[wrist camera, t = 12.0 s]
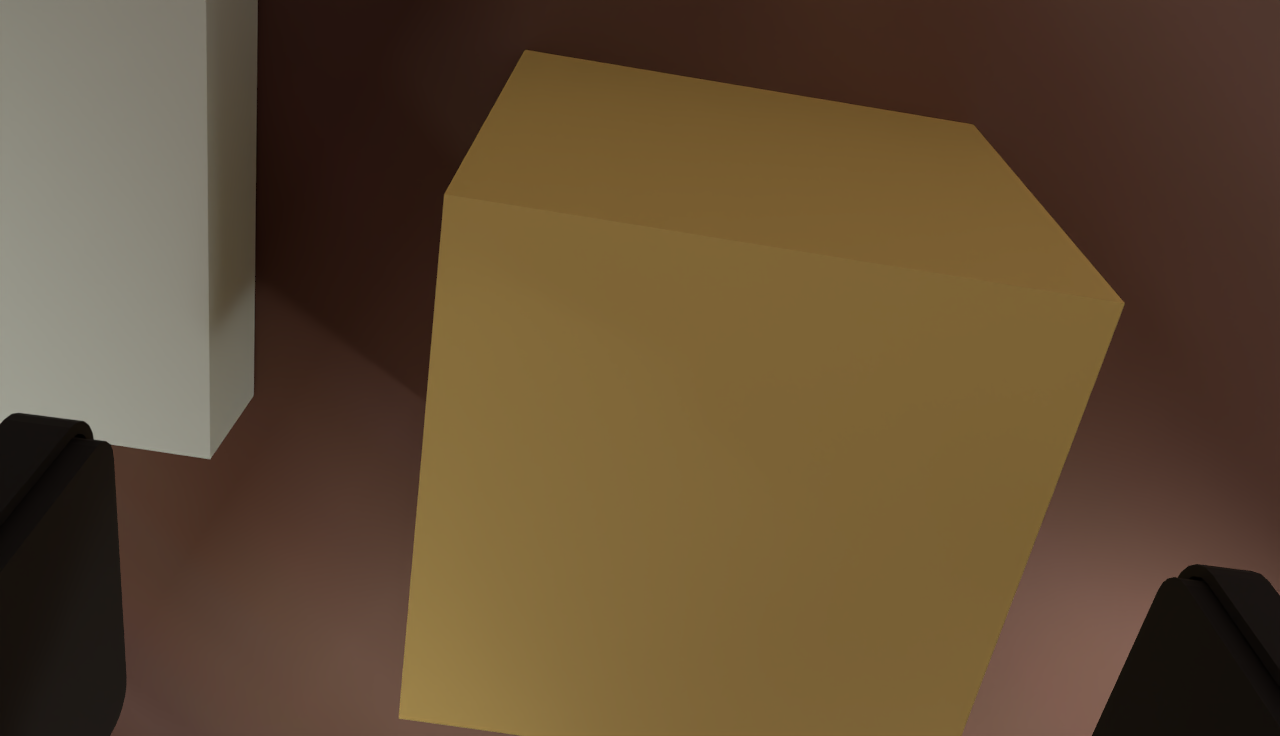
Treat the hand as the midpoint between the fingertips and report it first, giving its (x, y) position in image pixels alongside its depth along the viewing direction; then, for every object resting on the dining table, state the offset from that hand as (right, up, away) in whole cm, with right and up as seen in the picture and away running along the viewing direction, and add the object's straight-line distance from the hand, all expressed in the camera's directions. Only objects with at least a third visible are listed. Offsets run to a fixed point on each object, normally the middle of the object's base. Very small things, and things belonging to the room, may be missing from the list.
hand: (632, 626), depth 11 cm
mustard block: (+1, +4, +8) cm, 9 cm away
